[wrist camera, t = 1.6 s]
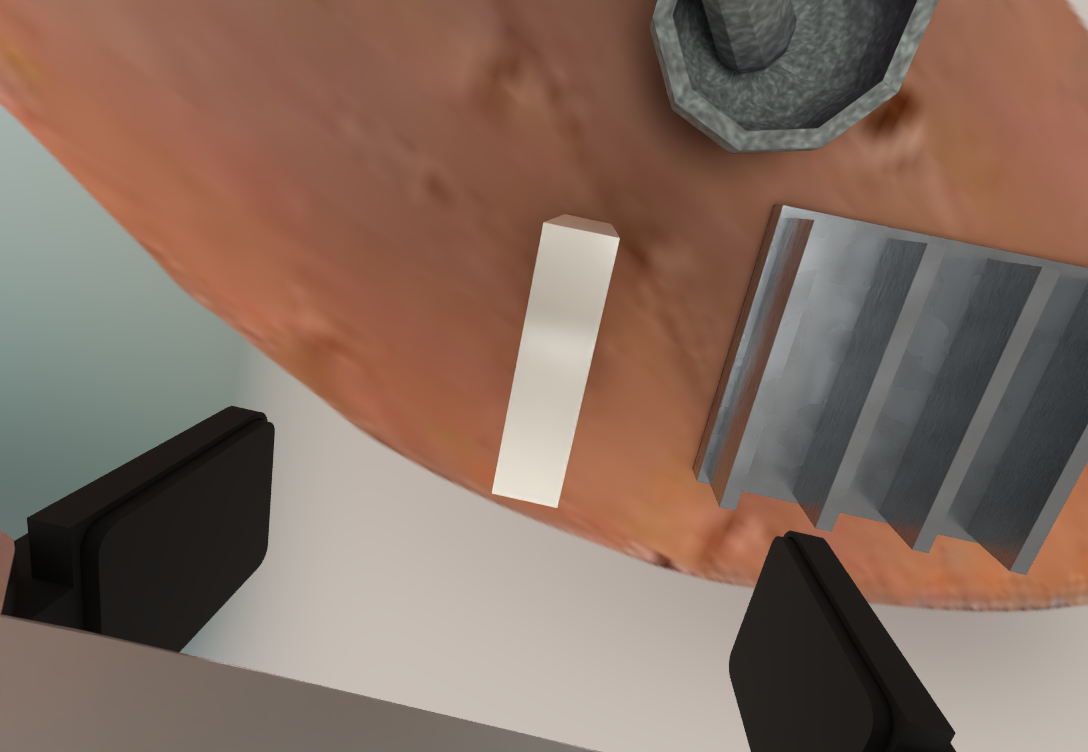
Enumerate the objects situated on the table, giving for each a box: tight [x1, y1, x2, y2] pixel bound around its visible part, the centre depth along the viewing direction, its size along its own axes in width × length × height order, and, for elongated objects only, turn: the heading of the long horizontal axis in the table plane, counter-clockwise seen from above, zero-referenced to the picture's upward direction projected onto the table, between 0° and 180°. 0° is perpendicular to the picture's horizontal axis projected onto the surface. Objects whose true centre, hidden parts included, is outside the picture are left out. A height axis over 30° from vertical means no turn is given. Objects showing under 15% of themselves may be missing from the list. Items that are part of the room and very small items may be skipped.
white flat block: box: [492, 214, 620, 508], centre depth 26 cm, size 2×10×12 cm, turn 169°
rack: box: [693, 205, 1088, 575], centre depth 28 cm, size 16×15×5 cm
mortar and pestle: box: [649, 0, 938, 153], centre depth 21 cm, size 11×9×12 cm
